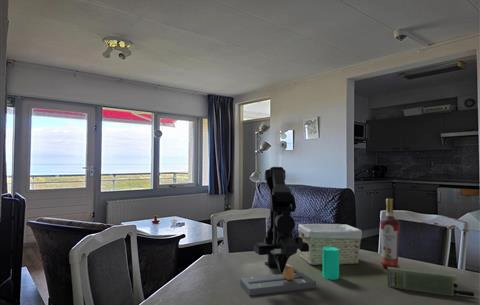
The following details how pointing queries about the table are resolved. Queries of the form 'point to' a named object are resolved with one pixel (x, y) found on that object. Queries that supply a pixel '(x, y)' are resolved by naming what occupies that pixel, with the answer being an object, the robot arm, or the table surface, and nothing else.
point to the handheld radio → (424, 281)
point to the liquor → (389, 237)
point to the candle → (330, 263)
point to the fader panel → (276, 283)
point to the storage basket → (330, 242)
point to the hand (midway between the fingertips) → (281, 272)
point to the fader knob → (288, 272)
